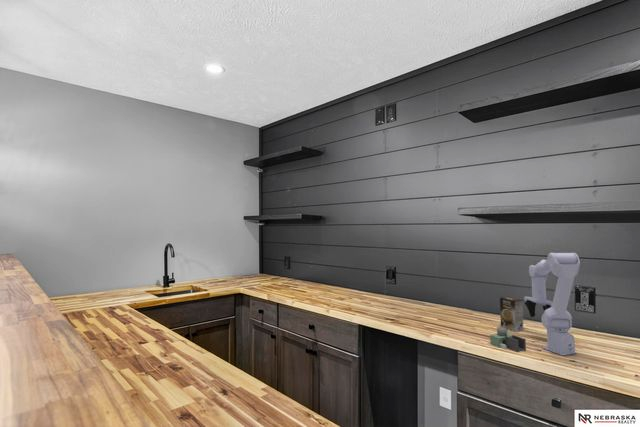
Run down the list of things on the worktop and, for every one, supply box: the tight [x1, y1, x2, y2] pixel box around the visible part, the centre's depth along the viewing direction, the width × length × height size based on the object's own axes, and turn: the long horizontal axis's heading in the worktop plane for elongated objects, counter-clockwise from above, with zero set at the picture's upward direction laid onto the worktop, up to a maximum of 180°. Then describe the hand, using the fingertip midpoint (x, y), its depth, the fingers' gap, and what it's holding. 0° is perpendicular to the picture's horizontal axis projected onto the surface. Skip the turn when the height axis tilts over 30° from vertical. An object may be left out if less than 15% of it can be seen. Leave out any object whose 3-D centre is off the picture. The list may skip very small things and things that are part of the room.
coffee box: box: [499, 296, 525, 333], centre depth 180 cm, size 9×6×16 cm
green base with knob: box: [489, 326, 514, 350], centre depth 156 cm, size 8×10×7 cm
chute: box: [505, 334, 527, 353], centre depth 151 cm, size 6×5×5 cm
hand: (539, 318), depth 165 cm, fingers open, 7 cm apart
